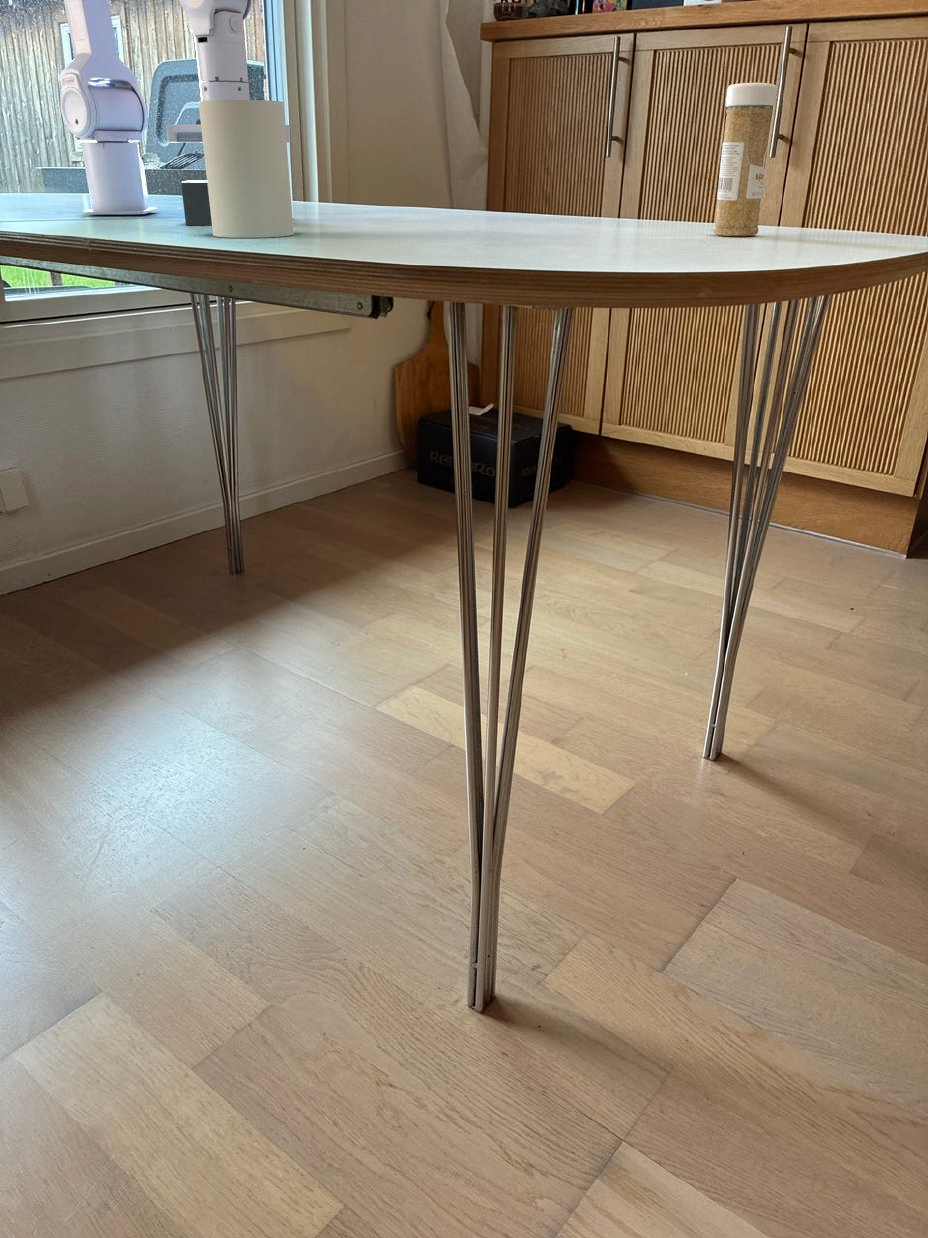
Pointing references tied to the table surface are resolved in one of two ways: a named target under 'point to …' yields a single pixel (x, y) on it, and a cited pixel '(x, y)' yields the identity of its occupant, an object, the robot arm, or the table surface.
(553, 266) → the table surface
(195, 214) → the slate block
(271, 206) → the cup
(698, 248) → the table surface
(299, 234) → the table surface
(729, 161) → the spice jar
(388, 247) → the table surface
